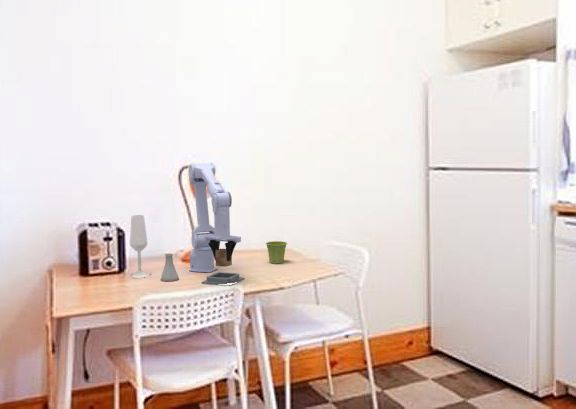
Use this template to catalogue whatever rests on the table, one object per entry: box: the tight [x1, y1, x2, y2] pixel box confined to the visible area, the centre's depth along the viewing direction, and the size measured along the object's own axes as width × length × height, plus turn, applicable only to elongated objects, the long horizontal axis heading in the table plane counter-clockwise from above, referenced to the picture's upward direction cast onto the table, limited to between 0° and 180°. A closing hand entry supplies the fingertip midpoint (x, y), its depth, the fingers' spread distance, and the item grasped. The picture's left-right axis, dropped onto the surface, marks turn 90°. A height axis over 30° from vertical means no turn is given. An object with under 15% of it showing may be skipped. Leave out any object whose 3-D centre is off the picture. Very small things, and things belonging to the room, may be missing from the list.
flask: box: [160, 252, 180, 282], centre depth 218 cm, size 7×7×10 cm
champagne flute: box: [129, 214, 149, 279], centre depth 224 cm, size 7×7×24 cm
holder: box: [201, 271, 245, 286], centre depth 214 cm, size 12×12×2 cm
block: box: [215, 248, 233, 268], centre depth 214 cm, size 4×4×6 cm
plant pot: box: [265, 240, 288, 265], centre depth 248 cm, size 9×9×9 cm
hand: (222, 260), depth 214 cm, fingers closed on block, 4 cm apart
